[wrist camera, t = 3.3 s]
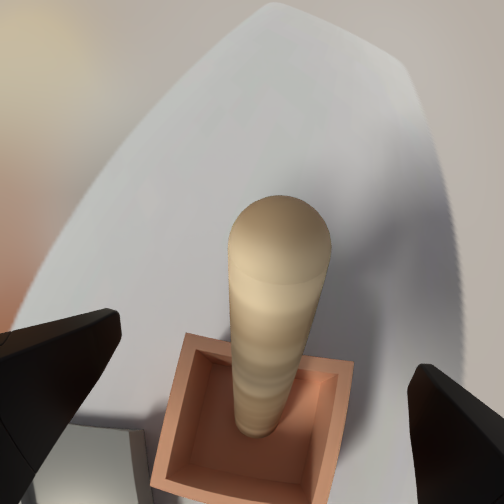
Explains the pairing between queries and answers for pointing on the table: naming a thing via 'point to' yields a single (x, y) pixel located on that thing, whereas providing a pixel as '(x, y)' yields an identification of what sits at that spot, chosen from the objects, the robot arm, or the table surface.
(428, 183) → the table surface
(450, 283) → the table surface
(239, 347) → the birch dowel
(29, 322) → the table surface
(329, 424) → the terracotta box
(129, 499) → the slate tray
